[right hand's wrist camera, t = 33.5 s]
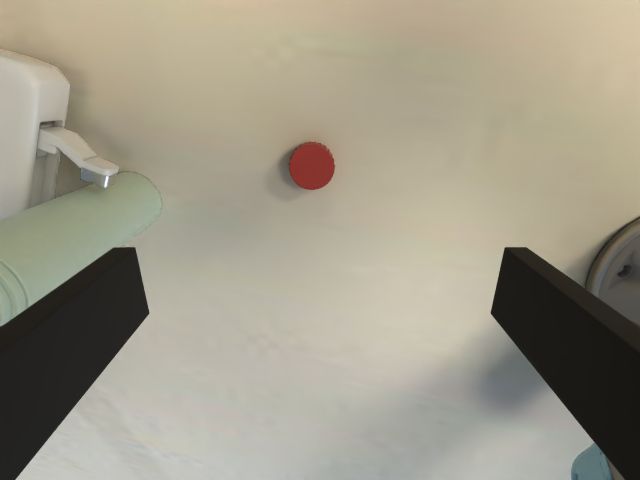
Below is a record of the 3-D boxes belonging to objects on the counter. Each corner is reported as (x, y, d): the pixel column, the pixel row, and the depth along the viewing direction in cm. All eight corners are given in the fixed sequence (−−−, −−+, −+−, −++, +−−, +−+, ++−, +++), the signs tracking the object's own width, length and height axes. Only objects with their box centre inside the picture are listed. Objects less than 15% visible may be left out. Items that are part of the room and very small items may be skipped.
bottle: (153, 169, 32) (-108, 287, 12) (168, 223, 34) (-34, 401, 14) (95, 174, 32) (-256, 301, 12) (114, 228, 34) (-161, 412, 14)
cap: (281, 156, 32) (279, 159, 30) (319, 132, 31) (319, 134, 30) (305, 193, 33) (304, 198, 32) (341, 171, 33) (343, 175, 31)
